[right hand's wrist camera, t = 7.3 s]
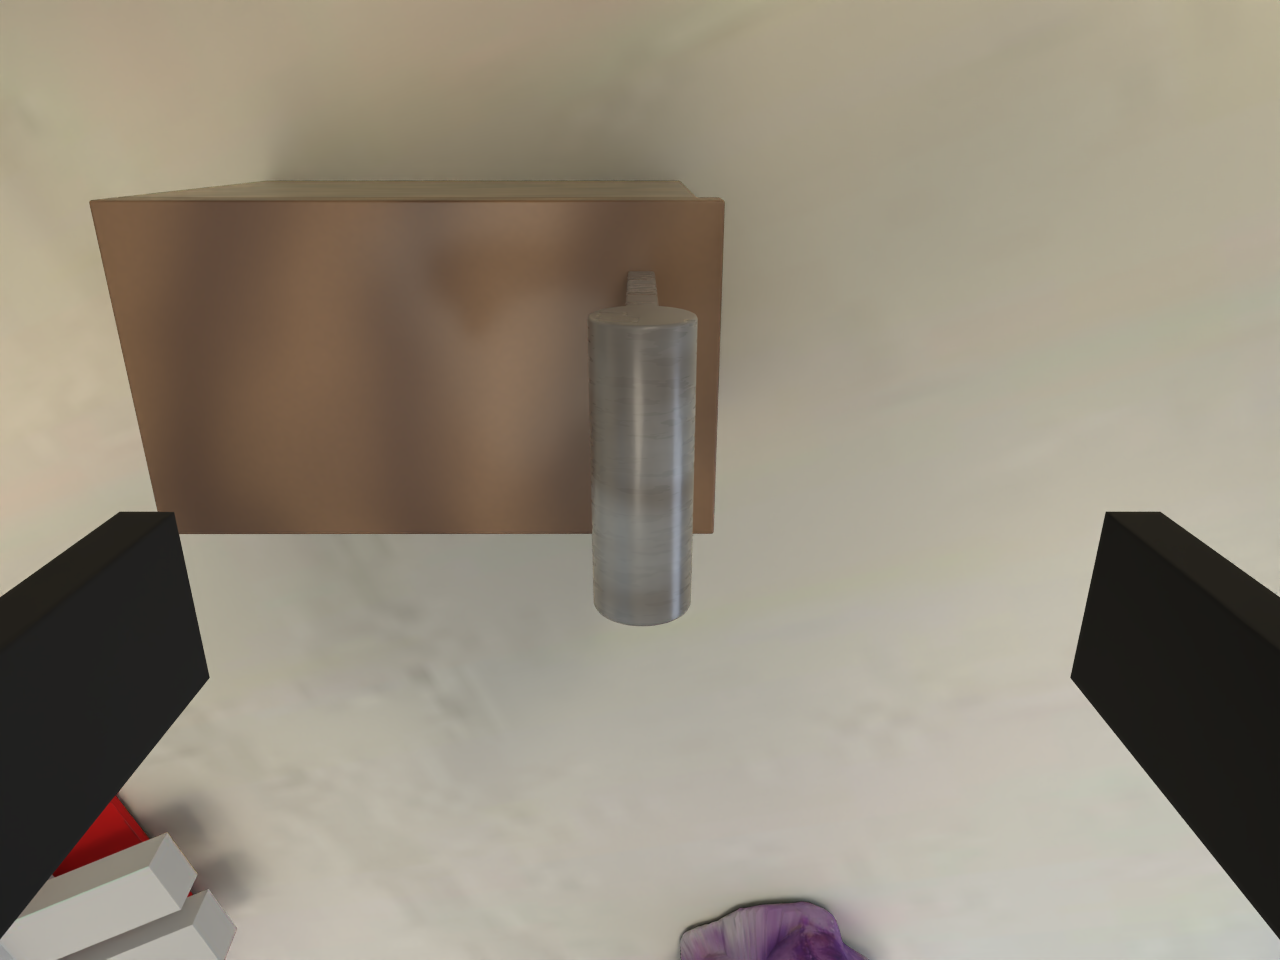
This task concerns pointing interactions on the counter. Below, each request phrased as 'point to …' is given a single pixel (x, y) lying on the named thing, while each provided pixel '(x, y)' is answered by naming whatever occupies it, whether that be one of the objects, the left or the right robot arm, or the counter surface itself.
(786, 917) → the figurine
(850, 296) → the counter surface
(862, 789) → the counter surface
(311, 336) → the lid
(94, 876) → the toy
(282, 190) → the chest
